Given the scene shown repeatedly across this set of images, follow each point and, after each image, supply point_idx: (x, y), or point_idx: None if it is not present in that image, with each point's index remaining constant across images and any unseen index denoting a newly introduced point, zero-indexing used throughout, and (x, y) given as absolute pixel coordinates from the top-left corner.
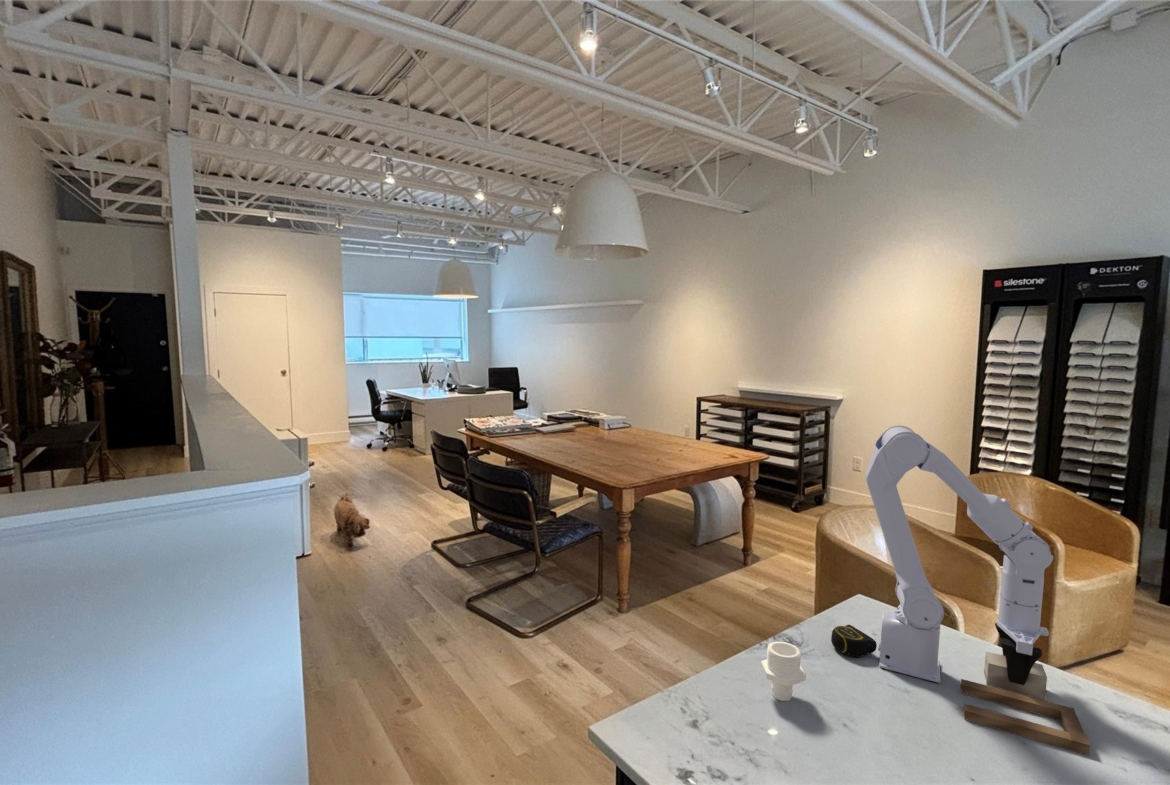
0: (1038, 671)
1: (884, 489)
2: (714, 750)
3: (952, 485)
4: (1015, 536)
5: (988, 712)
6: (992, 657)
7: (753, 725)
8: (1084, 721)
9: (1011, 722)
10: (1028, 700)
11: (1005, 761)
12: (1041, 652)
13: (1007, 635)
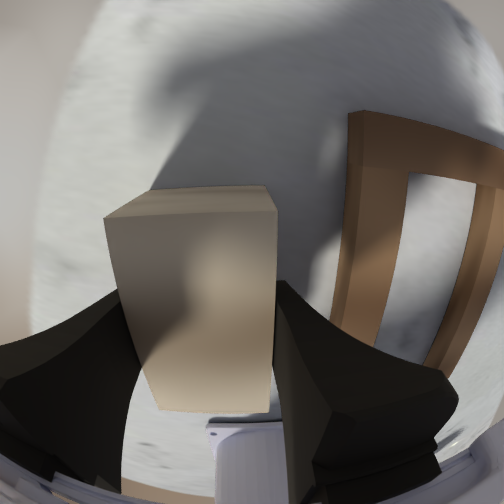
0: (222, 249)
1: None
2: (468, 443)
3: None
4: None
5: (454, 349)
6: (201, 402)
7: (447, 451)
8: (355, 83)
9: (480, 309)
10: (382, 269)
11: None
12: (445, 399)
13: (105, 451)
